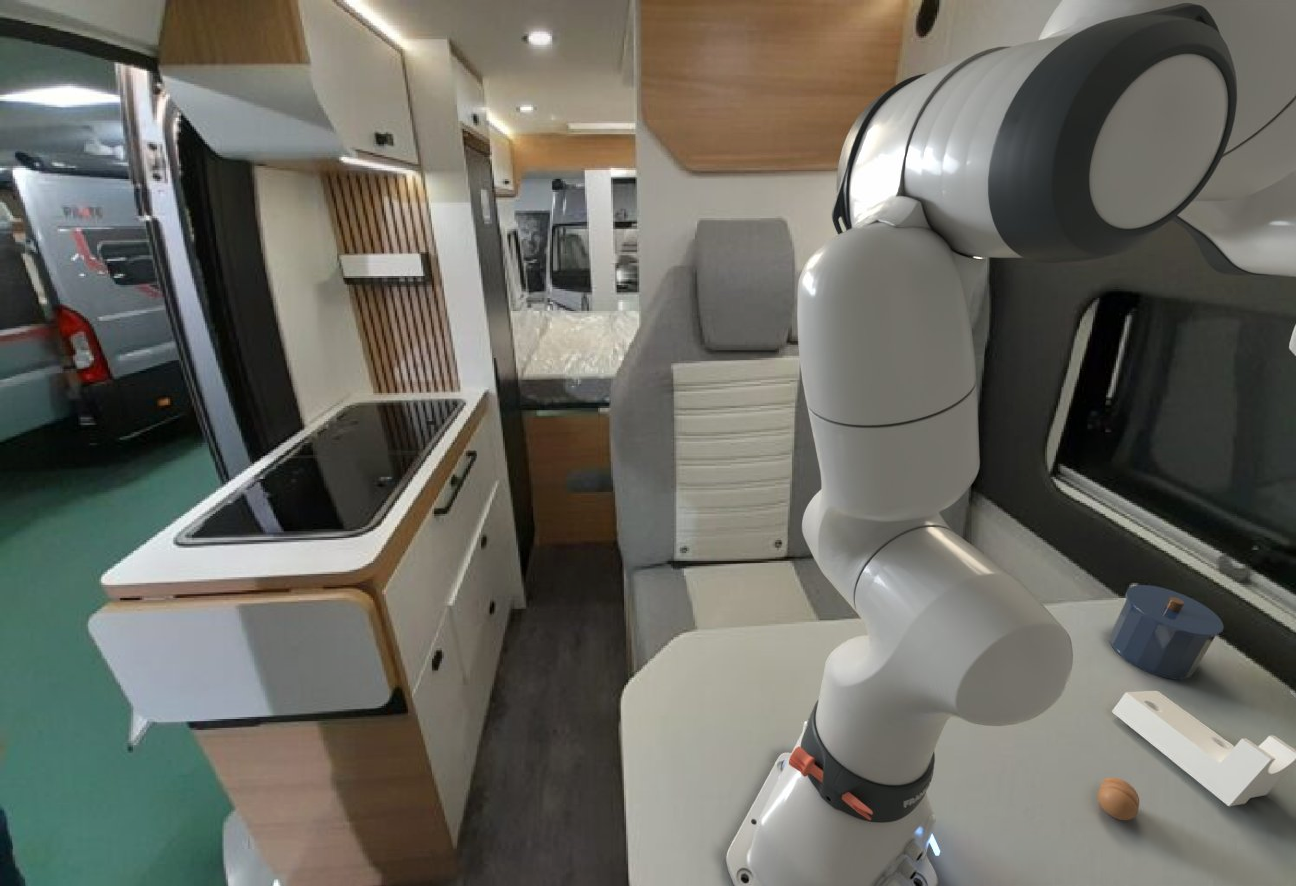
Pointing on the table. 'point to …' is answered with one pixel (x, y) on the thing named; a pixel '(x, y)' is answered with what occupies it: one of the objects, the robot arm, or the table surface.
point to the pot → (1156, 645)
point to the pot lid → (1174, 611)
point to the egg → (1118, 798)
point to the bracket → (1206, 748)
